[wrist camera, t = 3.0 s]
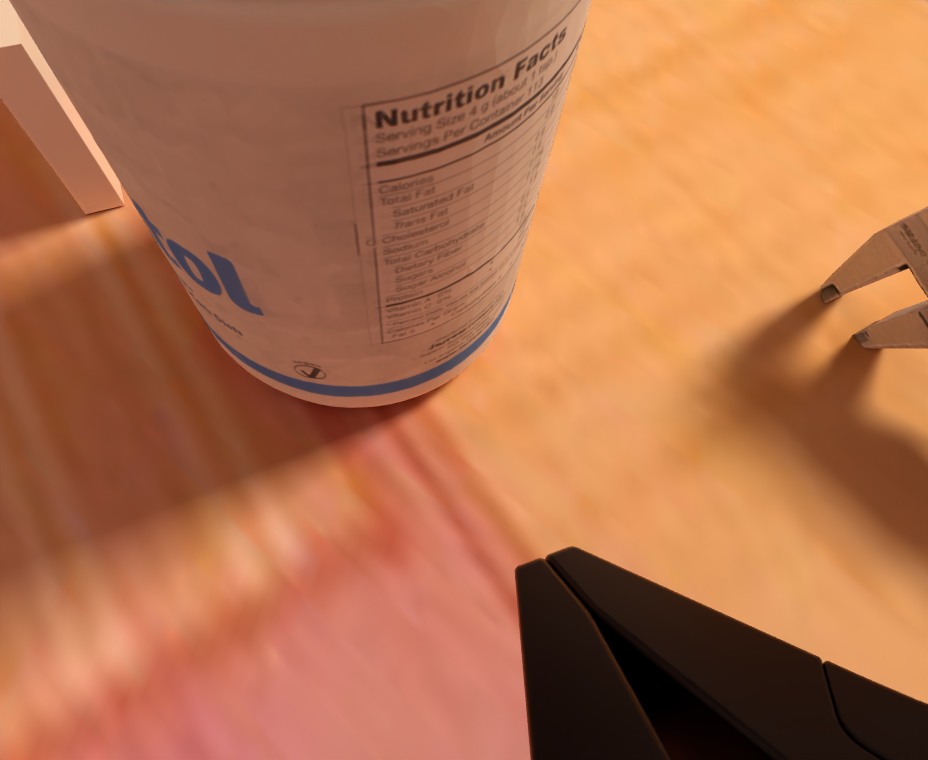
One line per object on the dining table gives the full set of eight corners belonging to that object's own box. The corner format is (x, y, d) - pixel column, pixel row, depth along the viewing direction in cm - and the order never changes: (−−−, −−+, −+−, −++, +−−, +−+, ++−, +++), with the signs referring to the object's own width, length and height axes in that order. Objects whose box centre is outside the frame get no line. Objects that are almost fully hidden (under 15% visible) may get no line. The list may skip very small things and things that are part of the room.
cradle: (529, 109, 24) (559, -58, 19) (85, 214, 21) (-33, 53, 16) (456, -28, 27) (465, -208, 21) (56, 48, 24) (-53, -137, 18)
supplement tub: (141, 278, 20) (-409, -491, 7) (364, 115, 23) (286, -630, 10) (363, 490, 18) (185, -43, 5) (577, 278, 21) (842, -404, 8)
